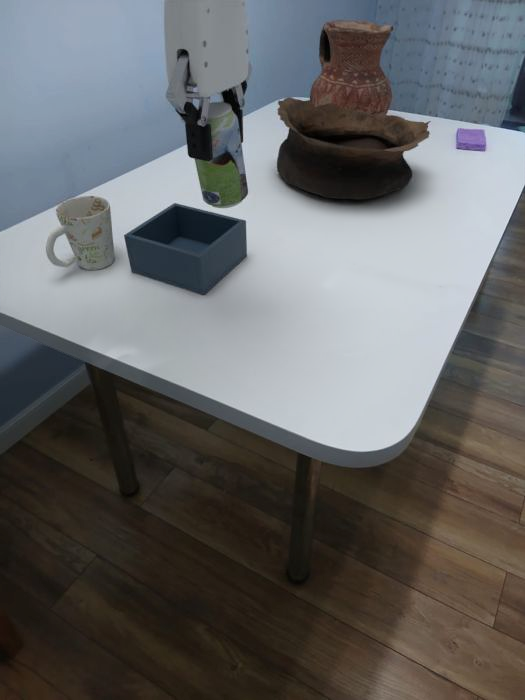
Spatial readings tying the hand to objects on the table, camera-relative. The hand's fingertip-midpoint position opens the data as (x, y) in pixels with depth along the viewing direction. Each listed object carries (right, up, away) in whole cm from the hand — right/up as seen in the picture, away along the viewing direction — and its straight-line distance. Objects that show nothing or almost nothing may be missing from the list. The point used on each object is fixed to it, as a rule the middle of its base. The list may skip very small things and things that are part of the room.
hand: (216, 148), depth 60 cm
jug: (+30, +38, +80) cm, 93 cm away
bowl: (+25, +14, +52) cm, 59 cm away
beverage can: (0, -5, +5) cm, 7 cm away
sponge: (+61, +30, +71) cm, 98 cm away
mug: (-24, -11, +24) cm, 36 cm away
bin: (-7, -10, +24) cm, 27 cm away
